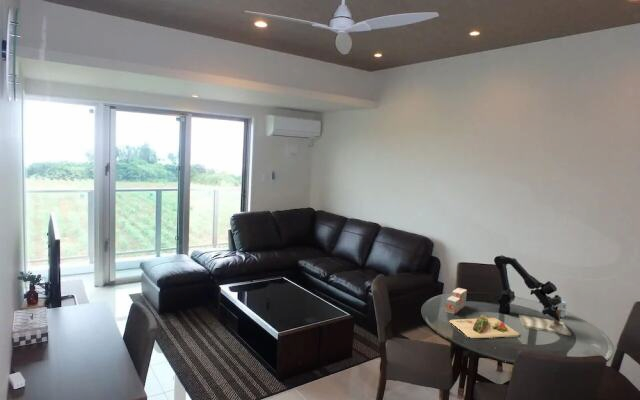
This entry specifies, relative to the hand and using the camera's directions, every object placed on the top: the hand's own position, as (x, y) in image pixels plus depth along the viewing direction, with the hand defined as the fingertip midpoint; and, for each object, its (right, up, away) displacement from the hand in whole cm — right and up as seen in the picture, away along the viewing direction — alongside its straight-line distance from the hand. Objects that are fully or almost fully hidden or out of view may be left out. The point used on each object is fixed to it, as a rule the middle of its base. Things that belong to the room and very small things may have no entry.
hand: (559, 319), depth 242 cm
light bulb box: (+13, -5, +27) cm, 30 cm away
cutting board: (-49, -6, -2) cm, 49 cm away
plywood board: (-6, -6, +7) cm, 11 cm away
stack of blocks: (-56, -1, +26) cm, 62 cm away
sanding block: (-1, -6, +2) cm, 6 cm away
